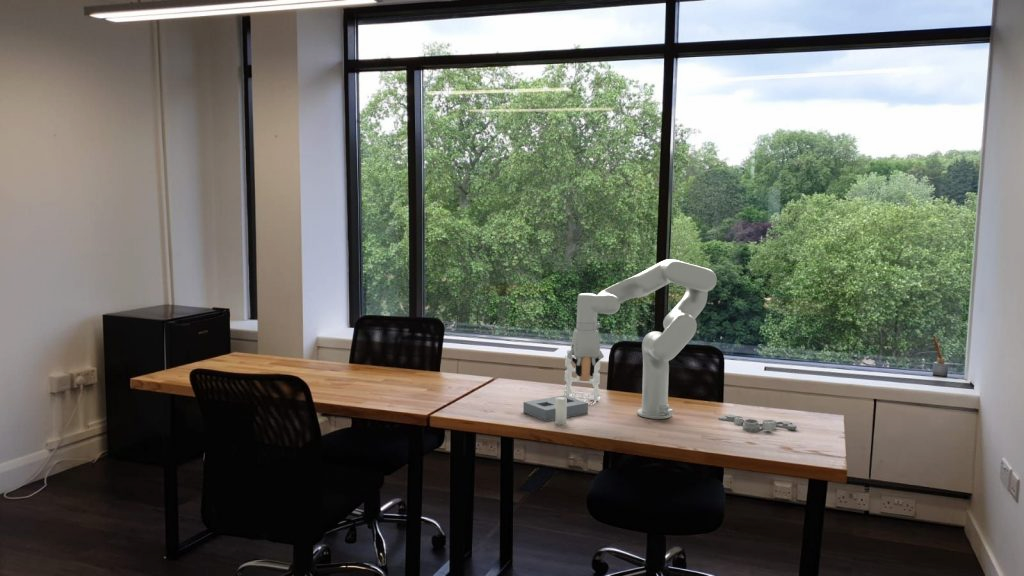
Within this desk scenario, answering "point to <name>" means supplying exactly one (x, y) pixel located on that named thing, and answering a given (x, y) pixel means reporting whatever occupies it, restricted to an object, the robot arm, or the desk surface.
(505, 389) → the desk surface
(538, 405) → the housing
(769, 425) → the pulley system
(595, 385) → the white plastic rack
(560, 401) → the peg cream
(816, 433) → the desk surface
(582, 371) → the peg terracotta
